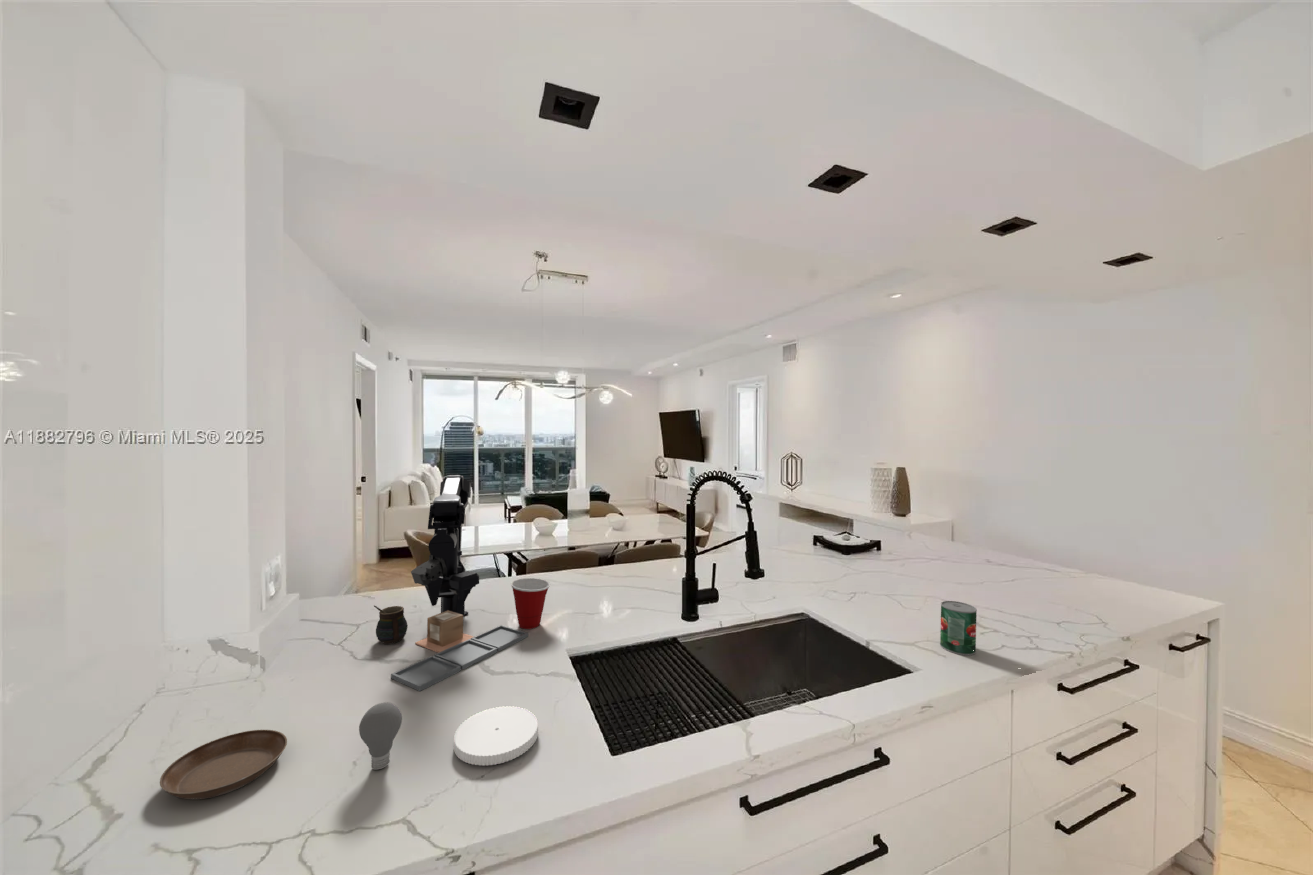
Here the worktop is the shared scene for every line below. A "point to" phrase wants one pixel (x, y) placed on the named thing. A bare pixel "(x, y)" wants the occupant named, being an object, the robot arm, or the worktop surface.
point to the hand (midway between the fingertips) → (445, 608)
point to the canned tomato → (958, 627)
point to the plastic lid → (495, 735)
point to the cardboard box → (444, 628)
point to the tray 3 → (500, 637)
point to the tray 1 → (425, 672)
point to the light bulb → (380, 732)
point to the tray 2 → (466, 653)
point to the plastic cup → (529, 600)
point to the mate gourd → (391, 625)
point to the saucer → (223, 764)
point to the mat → (439, 648)
